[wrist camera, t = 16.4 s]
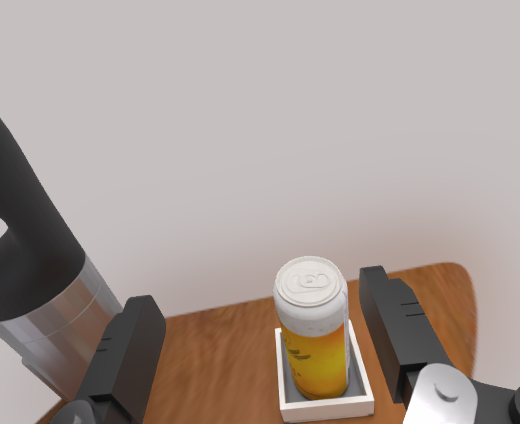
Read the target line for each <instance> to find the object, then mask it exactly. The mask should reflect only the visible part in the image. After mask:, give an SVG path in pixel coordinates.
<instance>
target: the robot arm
mask: <svg viewBox="0 0 520 424" xmlns="http://www.w3.org/2000/svg"><path fill="white" fill-rule="evenodd" d="M0 218H1V219H2V220H3V221H4V222H5V223H6V224H7V226H8V229H7V231H6V232H5V233H4V235H3V236H2V237H1V238H0V338H1V339H3V340H4V341H5V342H6V343H7V344H8V345H9V346H10V347H11V348H13V349H14V350H15V351H16V352H17V353H18V354H19V355H20V356H22V357H23V358H22V364H23V365H24V366H25V367H27V368H28V369H29V370H30V371H31V372H32V373H34V375H36V376H37V377H38V378H39V379H40V380H41V381H42V382H44V383H45V384H46V385H47V386H48V387H49V388H50V389H52V390H53V391H54V392H55V393H56V394H58V396H60V397H61V398H62V399H63V400H64V401H65V402H66V403H68V404H67V405H65V406H64V407H62V408H61V409H60V410H59V411H58V412H57V413H56V414H55V415H54V416H53V417H52V419H51V420H50V422H49V423H48V424H142V422H143V418H144V414H145V410H146V406H147V403H148V399H149V395H150V391H151V387H152V383H153V380H154V376H155V372H156V368H157V364H158V360H159V357H160V353H161V349H162V345H163V341H164V337H165V333H166V322H165V319H164V316H163V315H162V313H161V311H160V309H159V308H158V306H157V304H156V302H155V301H154V299H153V297H152V296H151V295H145V296H137V297H130V298H129V299H128V300H127V302H126V304H125V307H124V309H123V308H122V306H121V304H120V303H119V302H118V300H117V299H116V297H115V296H114V294H113V293H112V291H111V290H110V288H109V287H108V285H107V284H106V282H105V281H104V279H103V278H102V276H101V275H100V273H99V272H98V270H97V269H96V268H95V266H94V265H93V263H92V262H91V261H90V259H89V257H88V256H87V254H86V253H85V251H84V250H83V248H82V247H81V245H80V244H79V243H78V241H77V240H76V238H75V237H74V235H73V234H72V232H71V230H70V229H69V227H68V226H67V224H66V223H65V221H64V220H63V218H62V217H61V215H60V214H59V212H58V211H57V209H56V208H55V206H54V204H53V203H52V201H51V200H50V198H49V197H48V195H47V193H46V192H45V190H44V188H43V187H42V185H41V183H40V182H39V180H38V178H37V176H36V175H35V173H34V171H33V169H32V168H31V166H30V164H29V163H28V161H27V159H26V157H25V155H24V154H23V152H22V150H21V148H20V147H19V145H18V144H17V142H16V141H15V139H14V137H13V136H12V134H11V132H10V131H9V129H8V128H7V127H6V125H5V124H4V123H3V121H2V120H1V119H0ZM359 299H360V304H361V309H362V312H363V315H364V318H365V321H366V324H367V327H368V330H369V333H370V336H371V338H372V341H373V344H374V347H375V350H376V353H377V356H378V359H379V362H380V365H381V368H382V371H383V374H384V377H385V380H386V383H387V385H388V388H389V391H390V394H391V397H392V400H393V403H394V404H395V403H404V406H405V409H406V412H407V413H406V417H405V420H404V423H403V424H520V387H519V388H518V389H517V391H515V390H511V389H506V388H501V387H497V386H492V385H488V384H484V383H480V382H477V381H475V380H473V379H471V378H469V377H467V376H466V375H464V374H463V373H462V372H460V371H459V370H458V369H457V368H456V367H455V366H454V365H453V364H452V362H451V361H450V359H449V358H448V356H447V354H446V352H445V350H444V349H443V347H442V345H441V343H440V341H439V339H438V337H437V335H436V334H435V332H434V330H433V328H432V326H431V324H430V322H429V320H428V319H427V317H426V316H425V313H424V311H423V309H422V307H421V305H419V302H418V300H417V298H416V296H415V294H414V292H413V290H412V289H411V288H410V287H409V286H408V285H407V284H406V283H404V282H403V281H402V280H401V279H400V278H397V279H390V280H389V279H388V277H387V274H386V272H385V270H384V268H383V267H382V266H372V267H365V268H361V269H360V277H359Z"/></svg>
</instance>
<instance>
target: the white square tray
mask: <svg viewBox="0 0 520 424" xmlns="http://www.w3.org/2000/svg"><path fill="white" fill-rule="evenodd" d="M275 332H276V348H277V365H278V381H279V398H280V411H281V414H282V417H283V420H284V423H296V422H307V421H317V420H328V419H339V418H350V417H360V416H371V415H373V414H374V398H373V395H372V391H371V388H370V385H369V381H368V378H367V374H366V371H365V368H364V364H363V361H362V358H361V354H360V351H359V348H358V344H357V341H356V337H355V334H354V331H353V327H352V324H351V321H350V320H349V352H350V381H349V384H348V387H347V388H346V390H345V391H344V393H343V394H342V395H340V396H339V397H338V398H335V399H325V400H312V399H309V398H308V397H306V396H304V395H303V394H302V393H301V392H300V391H299V390H298V389H297V387H296V385H295V384H294V381H293V378H292V374H291V369H290V365H289V361H288V357H287V352H286V348H285V344H284V340H283V335H282V331H281V328H277V329H275Z"/></svg>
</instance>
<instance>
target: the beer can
mask: <svg viewBox="0 0 520 424" xmlns="http://www.w3.org/2000/svg"><path fill="white" fill-rule="evenodd" d="M273 297H274V301H275V306H276V310H277V314H278V318H279V323H280V327H281V331H282V335H283V340H284V344H285V348H286V352H287V357H288V361H289V365H290V369H291V374H292V378H293V381H294V384H295V385H296V387H297V389H298V390H299V391H300V392H301V393H302V394H303V395H304V396H306V397H308V398H309V399H312V400H325V399H335V398H338V397H339V396H340V395H342V394H343V393H344V391H345V390H346V388H347V387H348V384H349V381H350V352H349V318H348V288H347V283H346V281H345V279H344V277H343V276H342V274H341V273H340V271H339V269H338V268H337V267H336V266H335V265H334V264H333V263H332V262H330V261H328V260H327V259H324V258H321V257H316V256H305V257H299V258H296V259H293V260H291V261H289V262H287V263H286V264H285V265H284V266H283V267H282V268H281V269H280V270H279V272H278V274H277V277H276V281H275V284H274V287H273Z"/></svg>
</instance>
